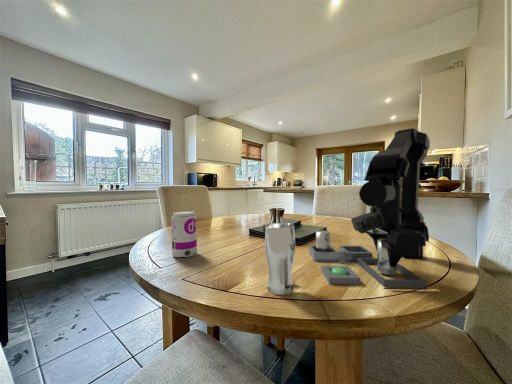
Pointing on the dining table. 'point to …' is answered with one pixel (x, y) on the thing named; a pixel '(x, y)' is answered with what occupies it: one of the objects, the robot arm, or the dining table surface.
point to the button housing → (340, 276)
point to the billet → (384, 259)
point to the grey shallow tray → (340, 254)
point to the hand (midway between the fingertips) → (386, 263)
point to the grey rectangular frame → (412, 282)
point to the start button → (339, 271)
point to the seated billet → (322, 241)
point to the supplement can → (184, 234)
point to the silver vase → (280, 257)
